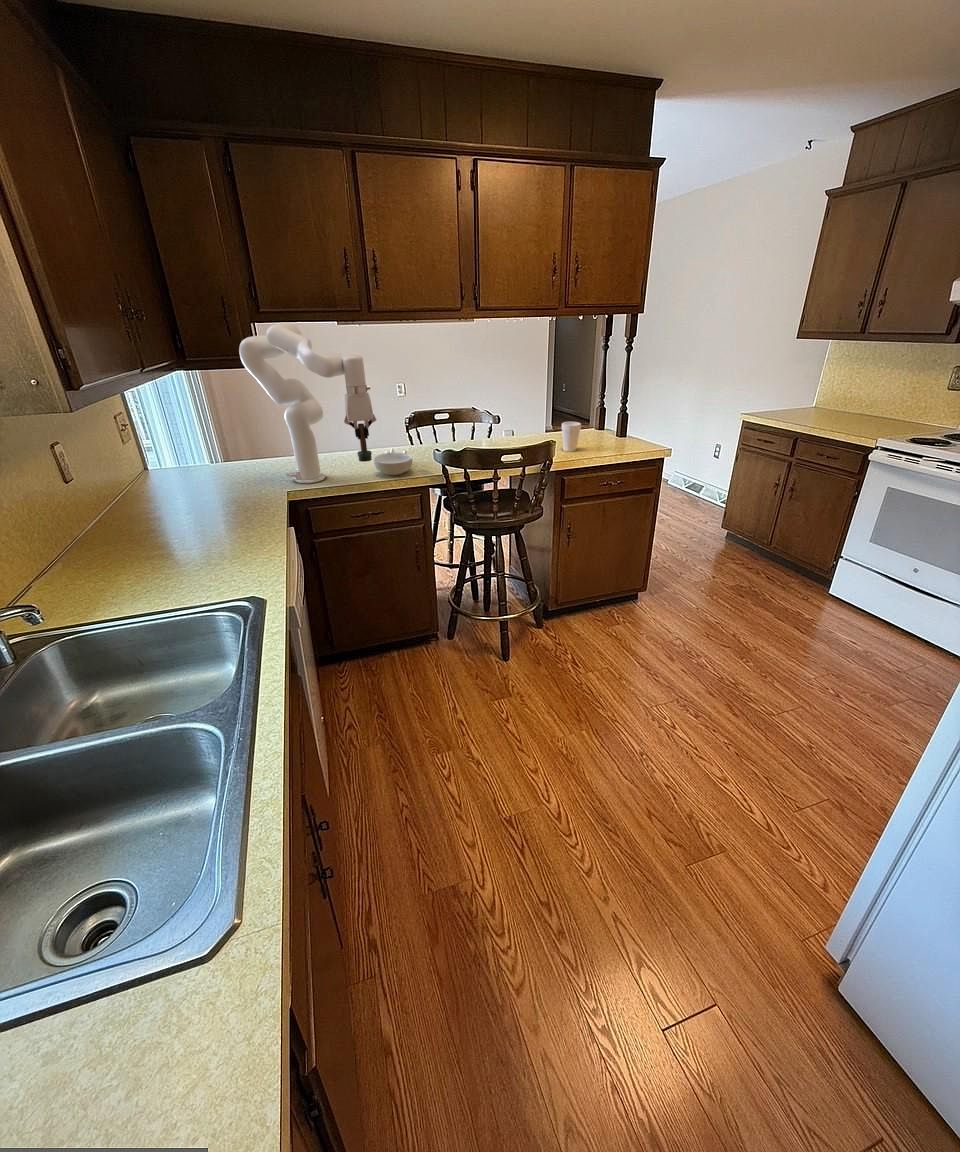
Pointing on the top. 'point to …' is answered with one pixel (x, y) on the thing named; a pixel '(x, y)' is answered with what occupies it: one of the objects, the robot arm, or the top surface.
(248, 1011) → the top surface
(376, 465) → the cereal bowl
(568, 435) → the foam cup
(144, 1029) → the top surface
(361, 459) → the brush
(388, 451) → the bracket
